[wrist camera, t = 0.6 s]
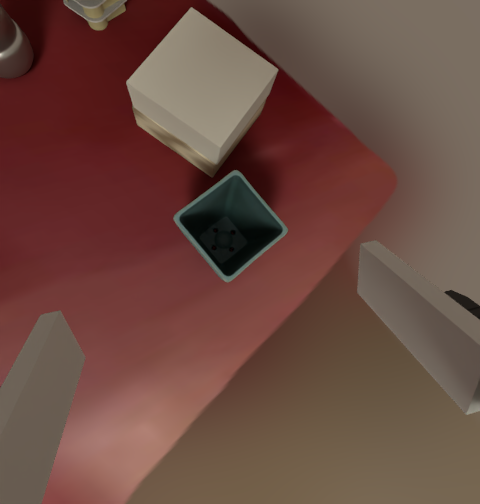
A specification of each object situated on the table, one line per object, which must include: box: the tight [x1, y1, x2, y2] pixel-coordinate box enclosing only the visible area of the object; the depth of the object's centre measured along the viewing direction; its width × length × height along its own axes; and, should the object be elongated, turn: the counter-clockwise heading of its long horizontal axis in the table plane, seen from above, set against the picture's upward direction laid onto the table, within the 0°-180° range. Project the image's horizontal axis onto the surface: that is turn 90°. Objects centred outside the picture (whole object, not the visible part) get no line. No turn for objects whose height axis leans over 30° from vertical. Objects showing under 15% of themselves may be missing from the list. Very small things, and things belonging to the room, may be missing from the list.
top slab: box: [126, 7, 278, 165], centre depth 37 cm, size 12×12×4 cm
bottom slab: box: [132, 99, 266, 178], centre depth 41 cm, size 12×12×4 cm
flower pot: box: [174, 170, 288, 282], centre depth 37 cm, size 9×9×9 cm
